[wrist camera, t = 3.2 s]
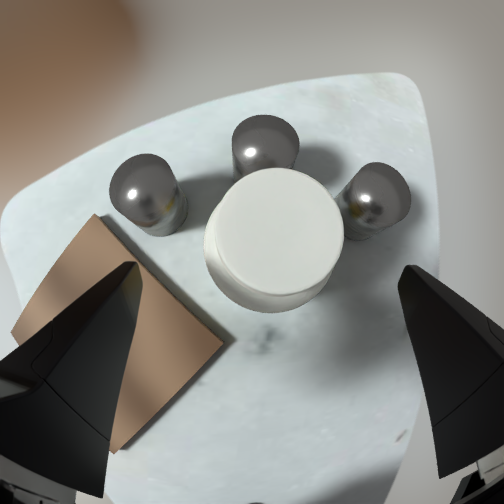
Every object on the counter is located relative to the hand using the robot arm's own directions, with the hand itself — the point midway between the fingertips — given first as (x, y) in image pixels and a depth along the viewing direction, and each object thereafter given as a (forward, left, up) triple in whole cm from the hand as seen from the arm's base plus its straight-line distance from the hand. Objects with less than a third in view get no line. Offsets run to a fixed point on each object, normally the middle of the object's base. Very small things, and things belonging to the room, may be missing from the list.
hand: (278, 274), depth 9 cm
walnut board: (-10, +5, -9) cm, 14 cm away
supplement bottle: (+1, +1, -9) cm, 9 cm away
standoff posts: (+5, +4, -9) cm, 11 cm away
